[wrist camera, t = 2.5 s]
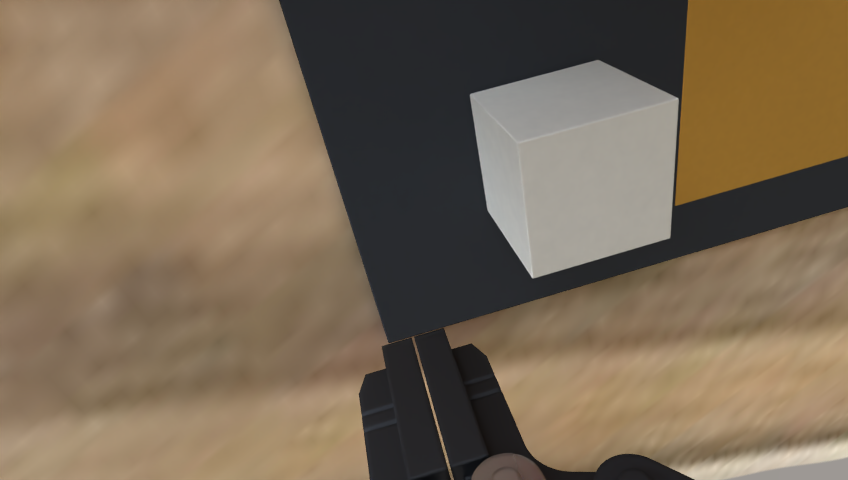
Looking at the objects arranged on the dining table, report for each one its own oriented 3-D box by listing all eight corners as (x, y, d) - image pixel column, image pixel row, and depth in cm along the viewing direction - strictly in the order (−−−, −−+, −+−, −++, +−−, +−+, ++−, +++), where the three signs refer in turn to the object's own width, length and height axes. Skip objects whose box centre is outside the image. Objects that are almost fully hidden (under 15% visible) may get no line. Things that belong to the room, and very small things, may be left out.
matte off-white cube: (468, 93, 20) (517, 142, 16) (597, 58, 20) (679, 97, 16) (486, 210, 22) (532, 279, 18) (600, 178, 23) (670, 238, 19)
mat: (267, -38, 17) (267, -37, 16) (1062, -231, 19) (1081, -234, 18) (387, 336, 25) (388, 344, 25) (922, 178, 27) (933, 182, 27)
